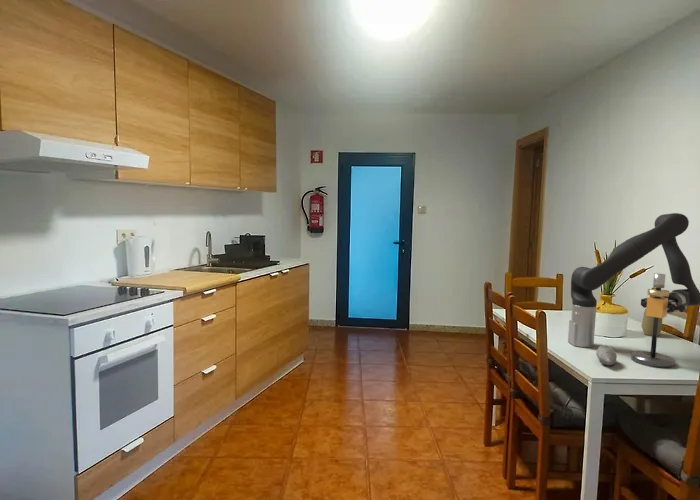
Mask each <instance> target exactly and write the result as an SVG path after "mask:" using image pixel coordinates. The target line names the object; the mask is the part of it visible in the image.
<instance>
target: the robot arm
mask: <svg viewBox="0 0 700 500" xmlns="http://www.w3.org/2000/svg"><path fill="white" fill-rule="evenodd" d="M689 223H690V221H689V217H687V216H686V215H685V214H683V213H679V212H673V213H666V214H661V215H659V216H658V217H656V218H655V220H654V227H653V228H652V229H649V230H647V231H644V232H642V233H639V234H637V235H634V236H632V237H630V238H628V239H626V240H625V241H623V242H621V243H620V244H619V245H617V246H616V247H614V249H612V251H611V252H610V254H609V255H608V257H607V258H606V259H605V260H604V261H603V262H601V263H599V264H597V265H595V266H593V267H587V266H579V267H576V268H575V269H574V270H573V272H572V274H571V278H570V279H571V280H570V297H571V300H572V303H571V317H570V319H571V320H569V321H568V335H567V342H568V343H569V344H571V345H572V346H573V347H580V348H593V347H594V345H595V332H596V331H595V330H596V317H597V316H596V315H597V303H598V302H597V299H596V297H595V296H594V293H593V291H595V290H597V289H599V288H600V287H602V286H603V285H604V284H606V283H607V282H608V281H609V280H610V279H611V278H613V277H614V276H615V275H617V274H618V273H620V272H622V271H623V270H625V269H626V268H628V267H630V266H631V265H632V264H634V263H636V262H637V261H638V260H640V259H642V258H644V257H645V256H646V255H648V254H649V253H650V252H652V251H654V250H655V249H657V248H658V247H660V246H661V248H662V249H663V251H664V255H665V257H666V260H667V264H668V268H669V273H670V278H671V282H672V283H673V284H674V285H681V286H684V287H685V288H684V289H683V288H680V289H673V290H672V291H669V297H664V298H668V306H667V314H668V313H669V314H670V313H674V312H678V311H679V313H684V312H686V311H687V308H688V306H691V307H693V306H699V305H700V290H699V288H698V287H697V285H696V284H695V281H694V280H693V276H692V272H691V271H692V270H691V267H690V263H689V261H688V259H687V257H686V256H685V255H684V253H683V251H682V250H681V248H680V246H679V243H678V241H677V237H678V236H680V235H682V234H684V233H685V232H686V231H687V229H688V228H689ZM640 306H641V307H642V308H643V309H646V308H647V297H645V298H640Z"/></svg>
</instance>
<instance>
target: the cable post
mask: <svg viewBox="0 0 700 500" xmlns="http://www.w3.org/2000/svg"><path fill="white" fill-rule="evenodd" d="M665 283H666V274H664V273H657V272H656V273H653V282H652V287H653V288H647V296H648V297H650V296H654V297H655V298H659V299H660V297H669V293H670V291H669V290H667V289H665V288H666V287H665V286H666V284H665ZM658 319H659V318H657V317H654V318H653V330H652V336H651V344H650V351H648V350H647V351H646V350H635V351H632V352H631V356H630V359H631V361H633V362H634V363H636V364H640V365H641V366H647V367H650V368H656V369H658V368H659V369H672V368H675V366H676V365H675V364H676V359H675V358H674V357H672V356H669V355H667V354H663V353H659V352H657V342H658V341H657V340H658V336H657V331H658Z"/></svg>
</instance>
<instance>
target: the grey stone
mask: <svg viewBox="0 0 700 500" xmlns="http://www.w3.org/2000/svg"><path fill="white" fill-rule="evenodd" d="M595 355H596V357H597V359H598V360H599V362H600V363H601V364H603V365H605V366H612V365H614V364H615V363H616V361H617V357H618V355H617V353H616V352H615V349H614V348H613V347H611V346H609V345H606V344H605V345H599V347H598V348H597V351H596V353H595Z"/></svg>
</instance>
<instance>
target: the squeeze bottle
mask: <svg viewBox="0 0 700 500" xmlns="http://www.w3.org/2000/svg"><path fill="white" fill-rule="evenodd" d="M653 318H654V317H652V316H646V308H644V312H643V317H642V322H641V328H642V332H643V335H645V336H650V337H652V330H653ZM662 319H663V318H659V319H658V331H657V337H659V335H660V334H661V332H662V329H663V322H662V321H663V320H662Z"/></svg>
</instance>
